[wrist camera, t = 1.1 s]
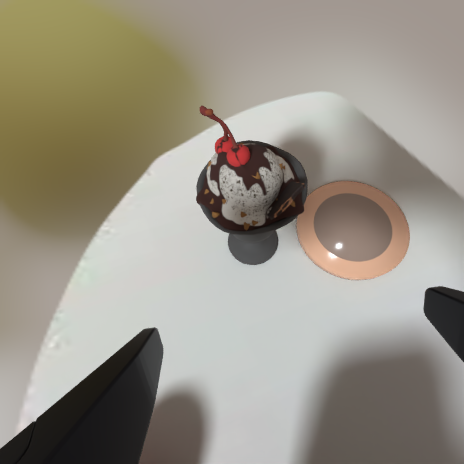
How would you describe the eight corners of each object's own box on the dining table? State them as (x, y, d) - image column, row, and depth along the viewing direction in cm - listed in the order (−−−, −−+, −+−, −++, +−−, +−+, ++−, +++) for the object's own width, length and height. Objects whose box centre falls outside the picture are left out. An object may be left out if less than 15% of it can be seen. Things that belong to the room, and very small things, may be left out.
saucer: (422, 273, 21) (429, 271, 20) (308, 286, 21) (310, 284, 20) (383, 179, 25) (387, 174, 24) (287, 192, 25) (288, 187, 24)
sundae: (213, 219, 25) (161, 81, 11) (276, 205, 25) (302, 49, 11) (225, 280, 22) (176, 202, 8) (294, 265, 22) (360, 161, 8)
